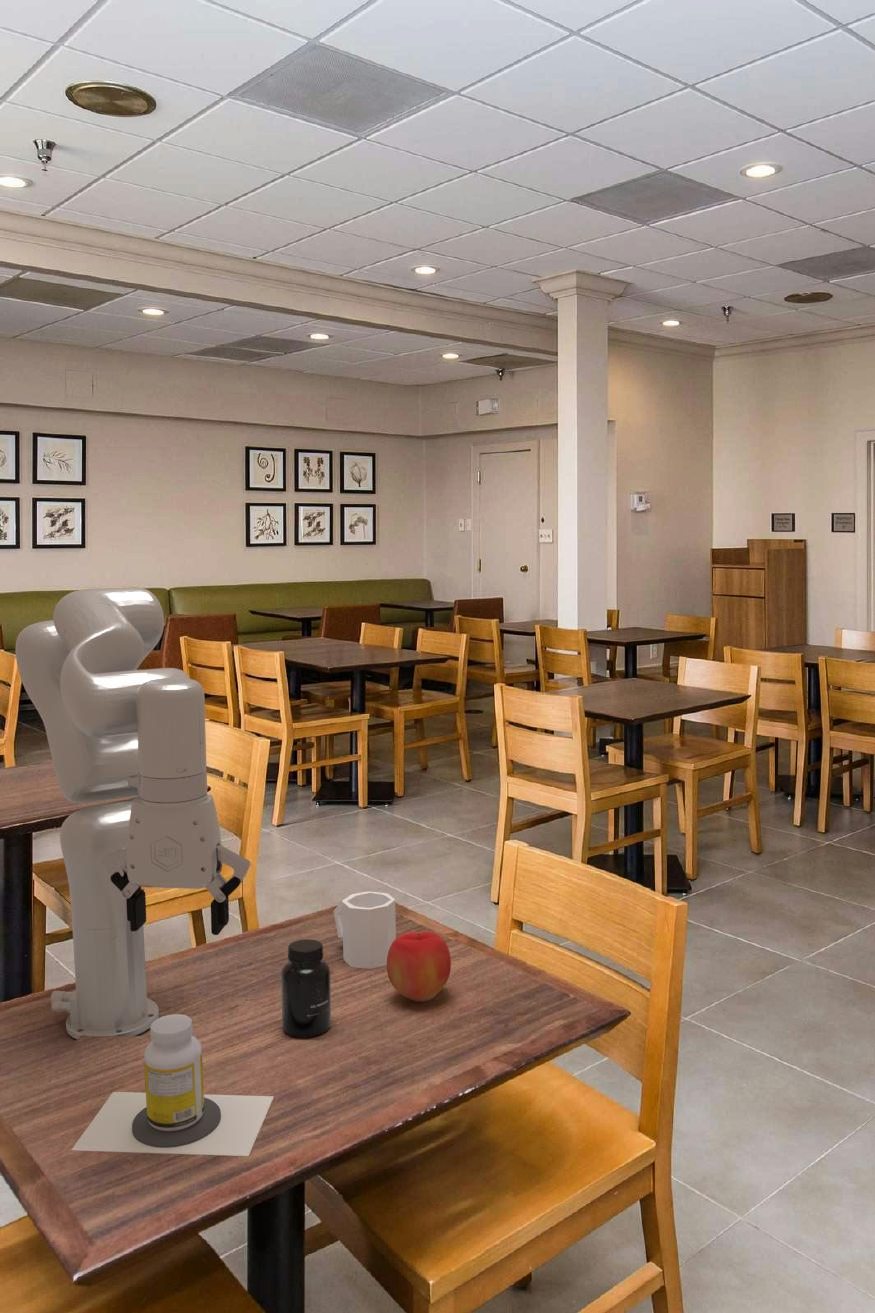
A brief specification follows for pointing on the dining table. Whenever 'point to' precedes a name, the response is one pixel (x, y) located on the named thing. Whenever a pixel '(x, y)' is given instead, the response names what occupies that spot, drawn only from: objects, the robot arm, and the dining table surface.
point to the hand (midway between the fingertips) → (178, 928)
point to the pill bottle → (173, 1074)
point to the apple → (418, 965)
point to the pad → (179, 1137)
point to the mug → (366, 928)
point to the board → (227, 1139)
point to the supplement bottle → (306, 990)
